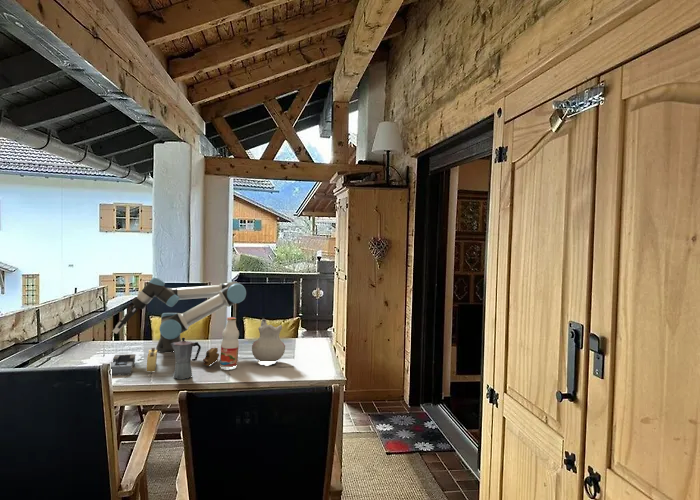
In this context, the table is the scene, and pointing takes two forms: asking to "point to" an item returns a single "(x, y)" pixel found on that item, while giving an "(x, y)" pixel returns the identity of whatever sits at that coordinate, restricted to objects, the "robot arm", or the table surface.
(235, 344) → the fruit juice
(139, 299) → the robot arm
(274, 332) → the ceramic pitcher
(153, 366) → the yellow block with knob
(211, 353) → the wooden carving
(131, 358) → the end link
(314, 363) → the table surface
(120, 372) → the end link
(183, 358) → the moka pot
